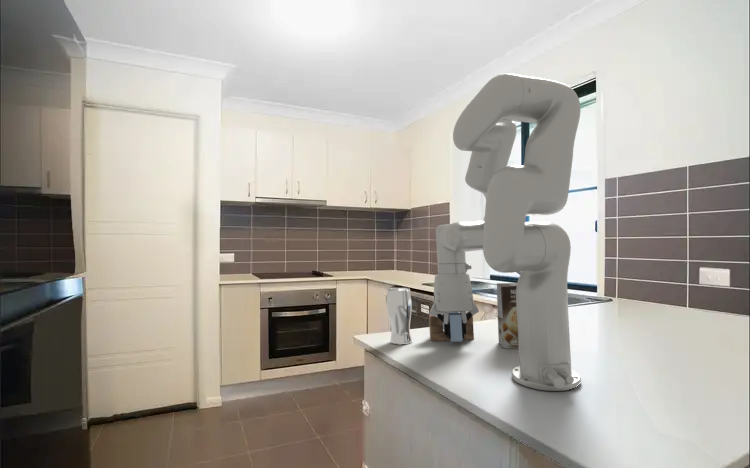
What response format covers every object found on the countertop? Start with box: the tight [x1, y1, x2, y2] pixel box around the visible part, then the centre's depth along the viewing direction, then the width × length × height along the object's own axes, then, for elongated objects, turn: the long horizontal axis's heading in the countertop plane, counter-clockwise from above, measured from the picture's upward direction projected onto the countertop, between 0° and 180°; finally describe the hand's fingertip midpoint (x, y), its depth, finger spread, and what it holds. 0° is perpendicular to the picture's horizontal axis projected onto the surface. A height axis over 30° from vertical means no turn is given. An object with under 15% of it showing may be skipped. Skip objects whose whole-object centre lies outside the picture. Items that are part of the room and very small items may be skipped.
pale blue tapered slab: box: [440, 312, 464, 343], centre depth 111 cm, size 16×3×7 cm, turn 179°
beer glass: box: [386, 287, 413, 346], centre depth 111 cm, size 7×7×15 cm
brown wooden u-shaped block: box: [428, 313, 475, 342], centre depth 111 cm, size 12×3×7 cm, turn 89°
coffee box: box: [496, 282, 519, 350], centre depth 102 cm, size 9×6×16 cm
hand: (455, 336), depth 105 cm, fingers closed on pale blue tapered slab, 3 cm apart
